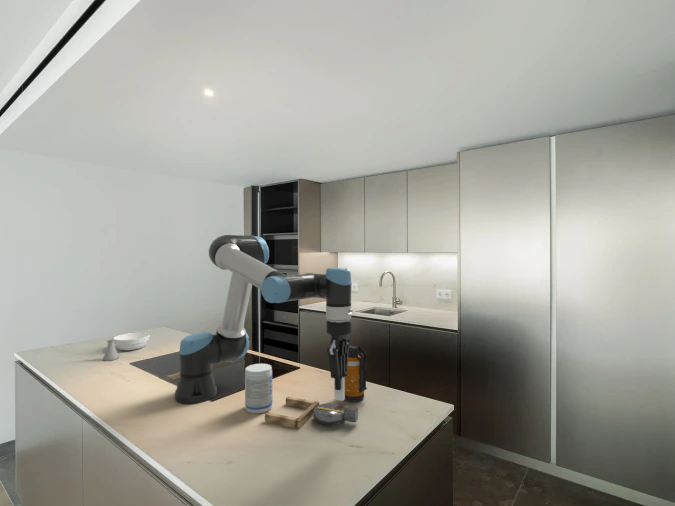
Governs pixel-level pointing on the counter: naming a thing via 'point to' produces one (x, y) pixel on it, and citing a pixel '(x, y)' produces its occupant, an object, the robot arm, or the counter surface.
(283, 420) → the brown piece
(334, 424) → the turntable base
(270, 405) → the supplement tub
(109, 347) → the flask
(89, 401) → the counter surface
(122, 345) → the bowl
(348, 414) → the turntable
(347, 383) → the canister
